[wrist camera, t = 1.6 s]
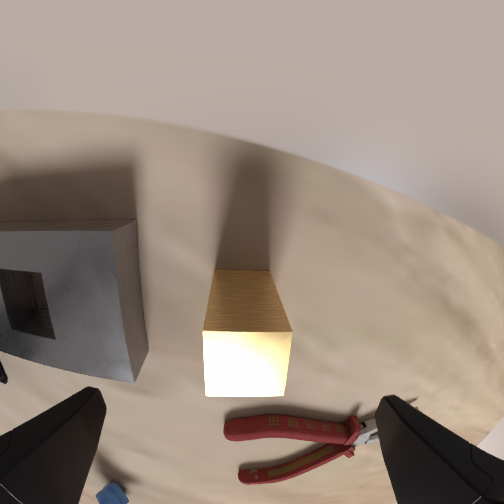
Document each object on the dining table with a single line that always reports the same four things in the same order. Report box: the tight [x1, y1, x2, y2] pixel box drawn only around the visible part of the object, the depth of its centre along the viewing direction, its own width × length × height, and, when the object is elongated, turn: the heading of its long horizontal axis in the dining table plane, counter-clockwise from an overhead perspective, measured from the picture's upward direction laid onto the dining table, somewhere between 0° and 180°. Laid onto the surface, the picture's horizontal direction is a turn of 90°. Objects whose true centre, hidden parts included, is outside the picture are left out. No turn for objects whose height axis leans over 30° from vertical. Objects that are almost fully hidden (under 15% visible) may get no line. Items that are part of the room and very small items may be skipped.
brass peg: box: [203, 269, 292, 397], centre depth 15 cm, size 4×4×8 cm
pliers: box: [224, 407, 418, 485], centre depth 23 cm, size 12×20×3 cm, turn 96°
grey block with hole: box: [0, 220, 148, 383], centre depth 16 cm, size 10×16×4 cm, turn 88°
